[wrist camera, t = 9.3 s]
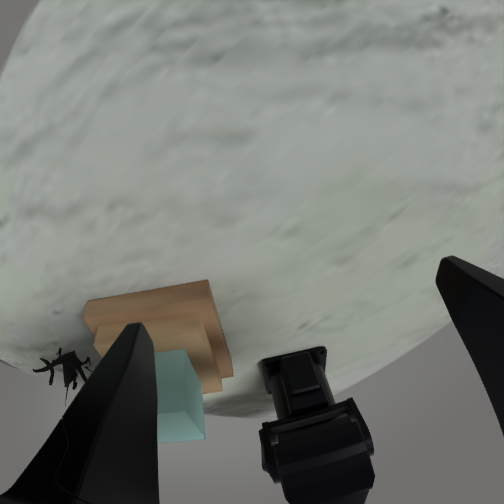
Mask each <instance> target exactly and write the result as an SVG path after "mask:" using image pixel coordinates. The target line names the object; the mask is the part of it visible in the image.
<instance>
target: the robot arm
mask: <svg viewBox="0 0 504 504" xmlns="http://www.w3.org/2000/svg"><path fill="white" fill-rule="evenodd" d="M436 285H437V288H438V290H439V292H440V294H441V296H442V298H443V300H444V303H445V305H446V307H447V309H448V312H449V314H450V316H451V319H452V321H453V323H454V325H455V327H456V329H457V331H458V333H459V335H460V336H461V338H462V340H463V342H464V344H465V346H466V348H467V350H468V352H469V354H470V356H471V358H472V360H473V362H474V364H475V367H476V369H477V371H478V373H479V375H480V377H481V380H482V382H483V384H484V387H485V389H486V391H487V394H488V396H489V398H490V401H491V403H492V406H493V408H494V411H495V413H496V416H497V419H498V421H499V423H500V427H501V430H502V433H503V436H504V279H502V278H500V277H498V276H496V275H494V274H492V273H490V272H488V271H486V270H484V269H482V268H479V267H477V266H475V265H473V264H471V263H469V262H466V261H464V260H462V259H460V258H457V257H455V256H448V257H444V258H442V260H441V261H440V265H439V268H438V272H437V275H436ZM326 356H327V350H326V347H323V346H322V347H318V348H314V349H310V350H305V351H301V352H297V353H292V354H288V355H283V356H279V357H274V358H269V359H265V360H263V361H262V368H263V373H264V379H265V384H266V389H267V393H268V394H272V396H273V401H274V405H275V409H276V414H277V418H278V420H276V421H272V422H264V423H262V427H263V428H262V429H261V430H259V436H260V441H261V451H262V468H263V470H264V471H266V472H267V473H269V474H270V476H271V478H272V479H273V481H274V483H275V484H276V483H281V484H282V488H283V492H284V496H285V499H286V500H287V501H288V503H289V504H364V503H365V500H366V497H367V495H368V492H369V489H371V488H372V487H373V483H374V478H375V474H374V470H373V467H372V463H371V459H370V456H372V455H373V454H374V448H373V442H372V438H371V435H370V432H369V429H368V427H367V425H366V423H365V421H364V419H363V417H362V415H361V413H360V412H359V410H358V408H357V406H356V404H355V402H354V400H353V398H352V397H351V398H348V399H347V400H345V401H342V402H339V403H337V404H336V403H335V400H334V398H333V395H332V392H331V389H330V386H329V384H328V381H327V378H326V375H325V366H326ZM157 414H158V394H157V381H156V369H155V354H154V345H153V341H152V339H151V337H150V336H149V334H148V332H147V330H146V328H145V326H144V324H143V323H142V322H134V323H129V324H127V325H126V326H125V328H124V329H123V330H122V332H121V333H120V334H119V336H118V337H117V338H116V340H115V341H114V343H113V344H112V345H111V347H110V348H109V349H108V351H107V352H106V354H105V355H104V356H103V358H102V359H101V361H100V362H99V363H98V365H97V366H96V368H95V369H94V371H93V372H92V373H91V375H90V376H89V378H88V379H87V381H86V382H85V384H84V385H83V386H82V388H81V389H80V391H79V392H78V394H77V396H76V397H75V398H74V400H73V401H72V403H71V404H70V406H69V407H68V409H67V410H66V412H65V413H64V415H63V416H62V418H63V419H60V421H59V423H58V424H57V425H56V427H55V429H54V430H53V431H52V433H51V434H50V436H49V437H48V439H47V440H46V442H45V443H44V445H43V446H42V447H41V449H40V450H39V451H38V453H37V454H36V456H35V457H34V458H33V459H32V461H31V462H30V463H29V465H28V466H27V468H26V469H25V470H24V471H23V473H22V474H21V475H20V477H19V478H18V479H17V481H16V482H15V483H14V484H13V485H12V487H11V488H9V489H8V490H7V491H6V492H4V493H3V494H1V495H0V504H160V502H159V485H158V454H157V452H158V451H157ZM277 442H278V443H277Z"/></svg>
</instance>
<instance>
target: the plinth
mask: <svg viewBox="0 0 504 504" xmlns="http://www.w3.org/2000/svg"><path fill="white" fill-rule="evenodd" d="M82 319H83V320H84V322H85V323H86V325H87V327H88V328H89V330H90V331H91V333H92V334H93V336H94V337H95V341H94V345H93V346H94V347H95V349H96V350H97V352H98V353H99V354H100V356H101V357H102V358H103V356H104V355H105V354H106V352H107V351H108V349H109V348H110V347H111V345H112V344H113V343H114V341H115V340H116V338H117V337H118V336H119V334H120V333H121V332H122V330H123V329H124V328H125V326H126V325H127V324H129V323H134V322H142V323H143V324H144V326H145V328H146V330H147V332H148V334H149V336H150V337H151V339H152V341H153V345H154V353H157V352H165V351H173V350H180V349H185V351H186V353H187V355H188V357H189V360H190V362H191V364H192V366H193V368H194V370H195V372H196V374H197V376H198V378H199V381H200V383H201V385H202V394H206V393H213V392H220V391H223V390H222V381H221V378H227V377H233V376H234V375H233V368H232V361H231V357H230V354H229V350H228V347H227V344H226V340H225V337H224V334H223V330H222V327H221V324H220V320H219V317H218V313H217V310H216V307H215V303H214V300H213V296H212V293H211V289H210V285H209V282H208V280H203V281H197V282H192V283H186V284H181V285H175V286H170V287H164V288H158V289H153V290H147V291H141V292H136V293H130V294H124V295H118V296H112V297H106V298H101V299H95V300H89V301H88V303H87V305H86V308H85V311H84V314H83V317H82Z"/></svg>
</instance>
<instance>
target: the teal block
mask: <svg viewBox="0 0 504 504" xmlns="http://www.w3.org/2000/svg"><path fill="white" fill-rule="evenodd" d="M154 354H155V369H156V381H157V394H158V414H157V443H166V442H182V441H194V440H205V439H206V436H205V424H204V411H203V397H202V385H201V383H200V381H199V378H198V376H197V374H196V372H195V370H194V368H193V366H192V364H191V362H190V360H189V357H188V355H187V353H186V351H185V349H180V350H173V351H165V352H157V353H154Z"/></svg>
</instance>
